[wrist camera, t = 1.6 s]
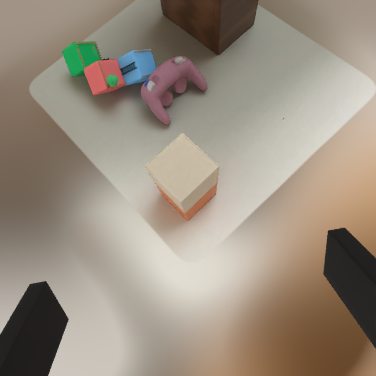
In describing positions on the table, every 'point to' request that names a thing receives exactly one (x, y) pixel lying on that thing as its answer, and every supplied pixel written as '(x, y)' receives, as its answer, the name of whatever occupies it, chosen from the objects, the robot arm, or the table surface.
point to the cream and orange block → (184, 175)
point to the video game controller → (169, 84)
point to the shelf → (212, 19)
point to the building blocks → (108, 67)
